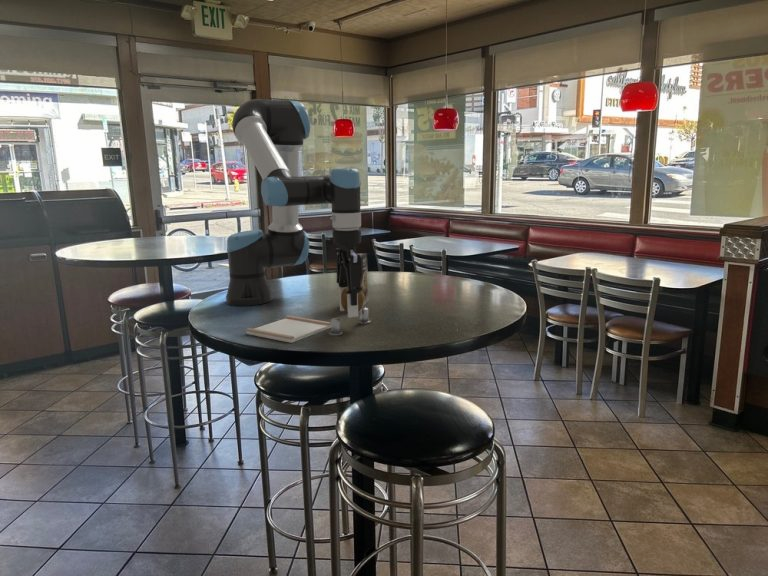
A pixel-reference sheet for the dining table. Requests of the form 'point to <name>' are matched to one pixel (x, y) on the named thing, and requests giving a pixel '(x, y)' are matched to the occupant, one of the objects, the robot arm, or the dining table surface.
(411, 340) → the dining table surface
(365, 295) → the coffee box
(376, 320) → the dining table surface
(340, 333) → the pins
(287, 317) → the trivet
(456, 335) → the dining table surface
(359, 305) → the fruit
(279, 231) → the robot arm
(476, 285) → the dining table surface
